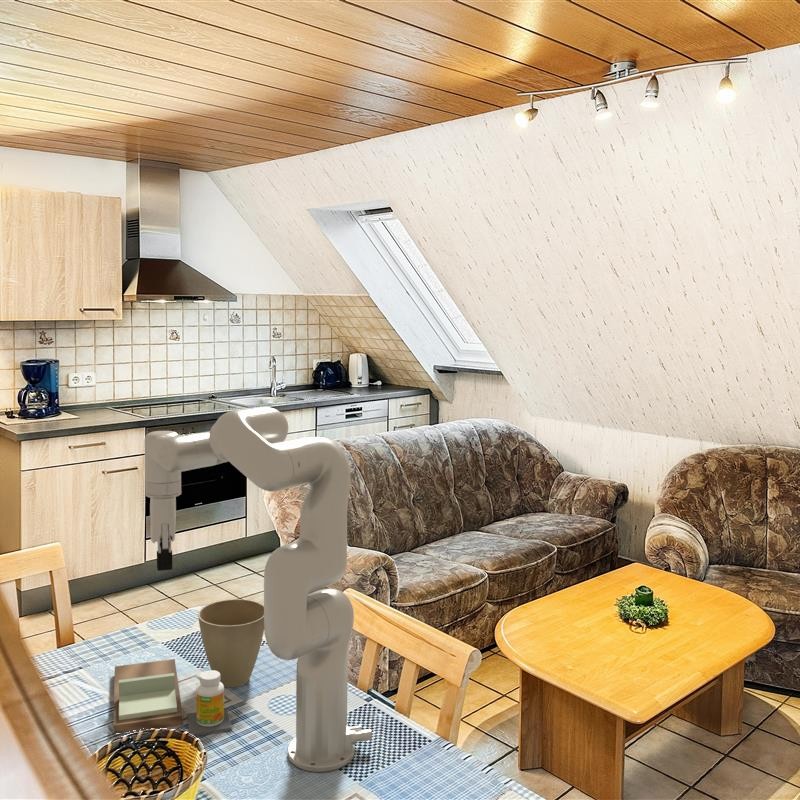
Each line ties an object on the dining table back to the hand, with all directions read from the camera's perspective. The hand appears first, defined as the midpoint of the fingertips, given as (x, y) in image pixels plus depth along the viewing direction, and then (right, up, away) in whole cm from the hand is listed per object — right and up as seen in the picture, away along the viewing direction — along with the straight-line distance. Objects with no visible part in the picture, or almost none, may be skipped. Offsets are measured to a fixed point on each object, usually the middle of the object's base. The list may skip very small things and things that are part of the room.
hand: (164, 568), depth 175 cm
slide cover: (+1, -25, -14) cm, 28 cm away
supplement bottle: (+14, -27, -16) cm, 35 cm away
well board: (-2, -26, -7) cm, 27 cm away
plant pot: (+15, -26, +2) cm, 30 cm away
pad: (+14, -28, -16) cm, 35 cm away
